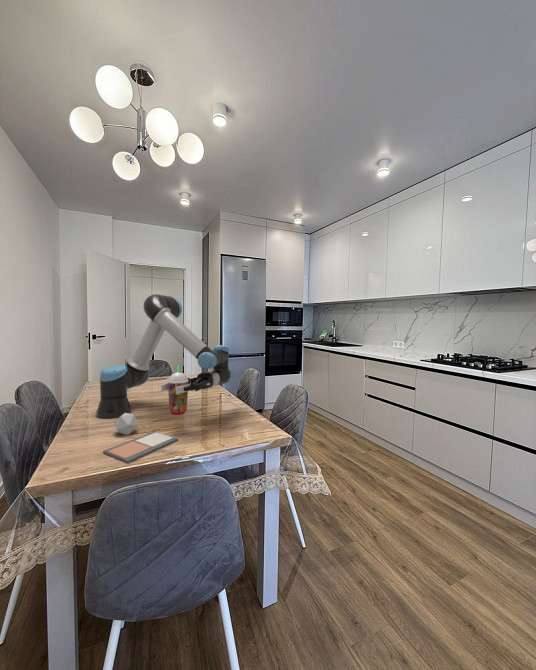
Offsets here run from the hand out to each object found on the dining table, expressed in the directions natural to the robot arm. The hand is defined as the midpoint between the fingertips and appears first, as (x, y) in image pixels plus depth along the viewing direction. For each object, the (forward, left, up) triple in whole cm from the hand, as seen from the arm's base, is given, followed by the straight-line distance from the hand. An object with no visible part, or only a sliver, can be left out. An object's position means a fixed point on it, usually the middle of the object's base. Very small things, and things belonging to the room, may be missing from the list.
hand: (169, 389), depth 114 cm
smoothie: (0, +5, -11) cm, 12 cm away
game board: (0, -12, -19) cm, 22 cm away
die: (-17, -7, -19) cm, 27 cm away
